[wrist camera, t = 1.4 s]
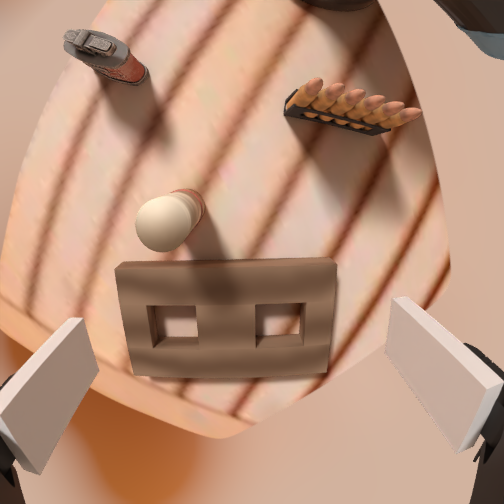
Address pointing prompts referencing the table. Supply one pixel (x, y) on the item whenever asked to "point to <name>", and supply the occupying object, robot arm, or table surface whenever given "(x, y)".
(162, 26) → the table surface
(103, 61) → the lighter
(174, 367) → the walnut board
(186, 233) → the birch dowel
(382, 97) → the ammunition clip
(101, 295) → the table surface
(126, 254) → the table surface
